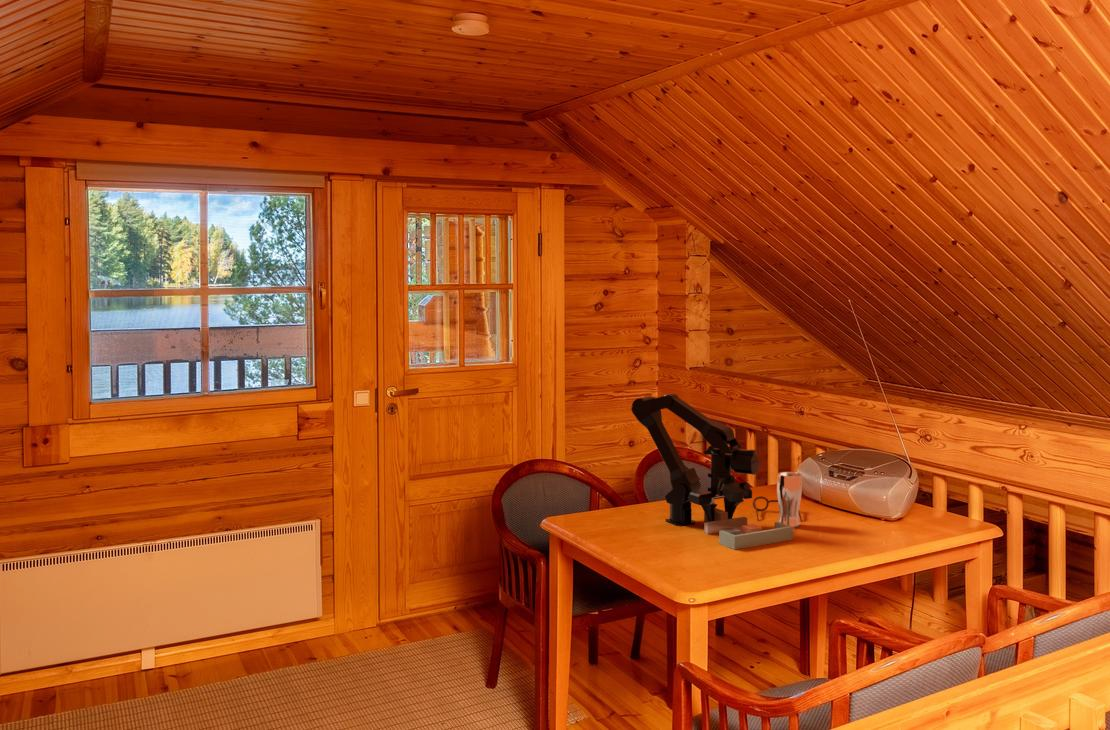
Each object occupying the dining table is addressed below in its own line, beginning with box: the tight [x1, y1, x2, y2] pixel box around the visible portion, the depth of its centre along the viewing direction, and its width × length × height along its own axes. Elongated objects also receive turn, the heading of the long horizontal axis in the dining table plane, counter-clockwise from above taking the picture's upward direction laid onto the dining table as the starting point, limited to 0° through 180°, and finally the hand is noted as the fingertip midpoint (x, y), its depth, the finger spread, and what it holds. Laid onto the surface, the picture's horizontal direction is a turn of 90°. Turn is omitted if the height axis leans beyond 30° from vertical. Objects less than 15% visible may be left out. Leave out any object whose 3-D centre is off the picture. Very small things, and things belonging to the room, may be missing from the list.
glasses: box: [752, 496, 803, 523], centre depth 296 cm, size 13×13×5 cm
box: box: [718, 521, 794, 551], centre depth 268 cm, size 6×20×4 cm, turn 118°
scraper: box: [703, 507, 748, 535], centre depth 283 cm, size 9×14×5 cm, turn 118°
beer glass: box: [776, 471, 803, 529], centre depth 284 cm, size 7×7×15 cm
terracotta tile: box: [740, 523, 763, 534], centre depth 275 cm, size 4×4×2 cm
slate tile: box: [721, 527, 742, 535], centre depth 272 cm, size 4×4×2 cm
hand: (720, 524), depth 282 cm, fingers open, 5 cm apart
